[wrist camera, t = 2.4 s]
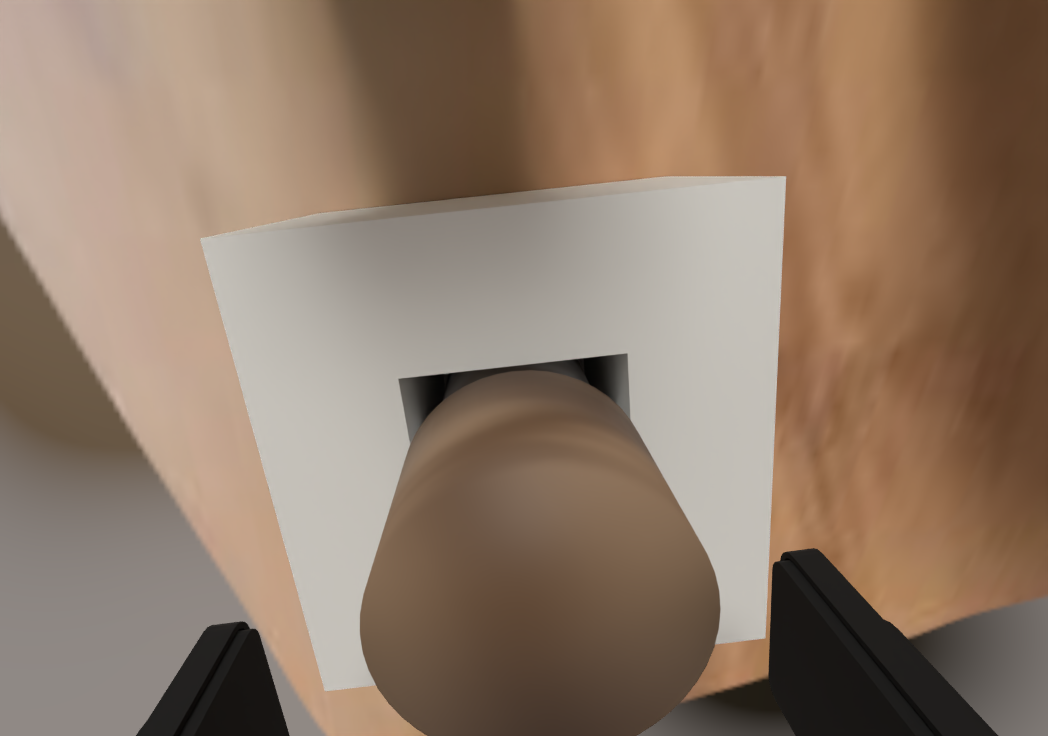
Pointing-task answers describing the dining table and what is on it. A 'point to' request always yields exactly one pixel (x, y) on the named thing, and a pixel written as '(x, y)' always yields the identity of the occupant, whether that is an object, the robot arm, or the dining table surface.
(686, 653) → the brown rounded piece
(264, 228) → the housing
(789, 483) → the dining table surface
